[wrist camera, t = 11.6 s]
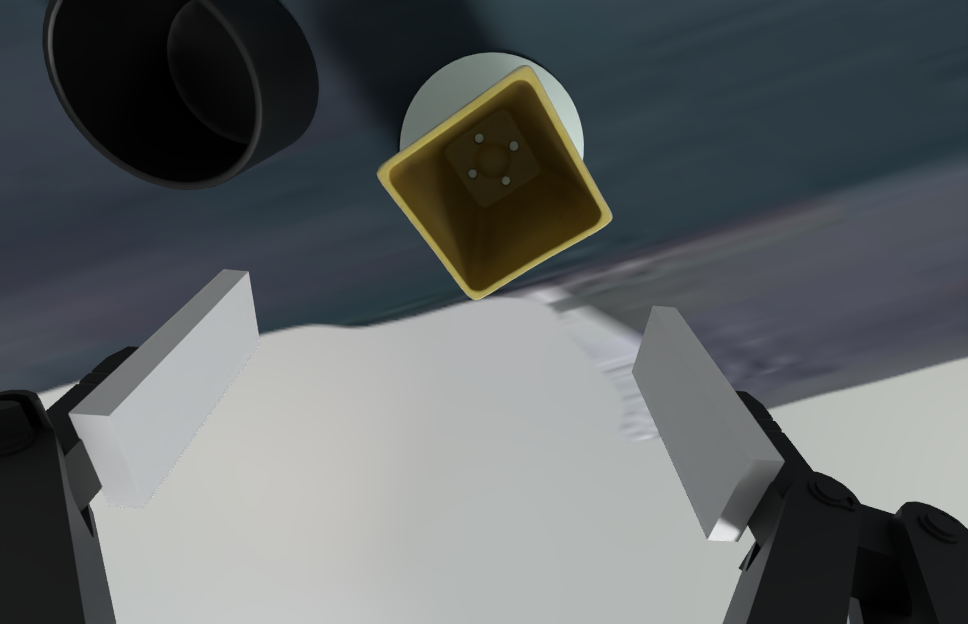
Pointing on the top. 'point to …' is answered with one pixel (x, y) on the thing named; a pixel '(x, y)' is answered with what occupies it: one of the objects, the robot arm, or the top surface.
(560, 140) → the flower pot
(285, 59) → the mug
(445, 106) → the pad
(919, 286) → the top surface
